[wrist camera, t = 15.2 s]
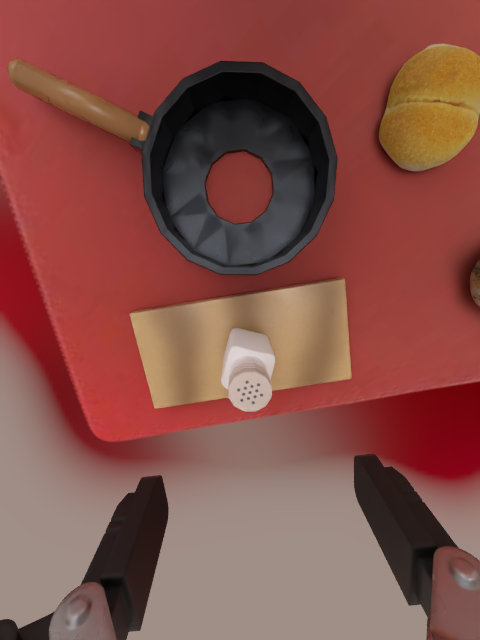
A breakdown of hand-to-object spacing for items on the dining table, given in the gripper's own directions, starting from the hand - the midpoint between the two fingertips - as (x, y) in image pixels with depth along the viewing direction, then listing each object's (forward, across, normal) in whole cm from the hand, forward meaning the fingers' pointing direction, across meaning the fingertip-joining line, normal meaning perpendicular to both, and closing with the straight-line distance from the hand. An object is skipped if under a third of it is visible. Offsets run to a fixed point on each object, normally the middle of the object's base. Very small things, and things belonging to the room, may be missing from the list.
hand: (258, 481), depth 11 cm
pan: (+19, +4, -18) cm, 27 cm away
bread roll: (+20, -18, -19) cm, 33 cm away
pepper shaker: (+18, 0, +1) cm, 18 cm away
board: (+19, 0, +1) cm, 19 cm away
